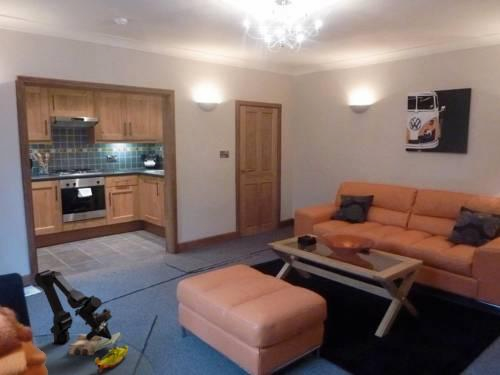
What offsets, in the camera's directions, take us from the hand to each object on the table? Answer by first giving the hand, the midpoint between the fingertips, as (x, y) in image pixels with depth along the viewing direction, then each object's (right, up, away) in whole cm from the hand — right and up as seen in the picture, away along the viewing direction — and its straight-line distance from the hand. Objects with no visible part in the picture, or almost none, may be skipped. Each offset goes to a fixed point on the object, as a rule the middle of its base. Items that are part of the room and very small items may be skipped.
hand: (111, 338), depth 198 cm
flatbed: (-13, -6, +1) cm, 15 cm away
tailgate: (-6, -4, +1) cm, 7 cm away
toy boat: (+5, -8, -11) cm, 15 cm away
